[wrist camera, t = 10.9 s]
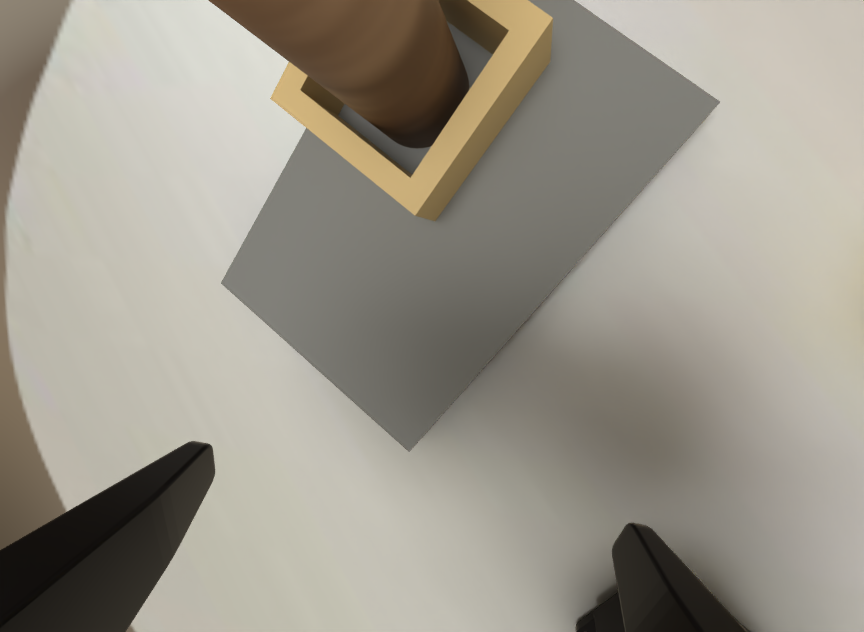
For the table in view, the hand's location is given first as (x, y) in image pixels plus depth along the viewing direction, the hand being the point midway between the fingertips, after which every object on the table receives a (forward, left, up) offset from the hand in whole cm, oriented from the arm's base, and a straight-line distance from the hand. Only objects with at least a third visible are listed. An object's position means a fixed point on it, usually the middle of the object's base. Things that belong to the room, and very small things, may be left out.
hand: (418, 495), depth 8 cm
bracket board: (+7, -4, -12) cm, 14 cm away
